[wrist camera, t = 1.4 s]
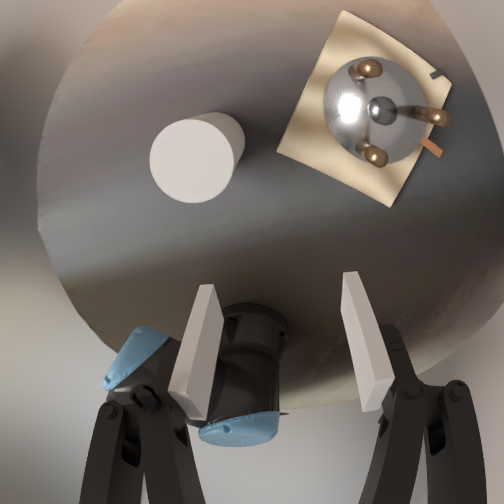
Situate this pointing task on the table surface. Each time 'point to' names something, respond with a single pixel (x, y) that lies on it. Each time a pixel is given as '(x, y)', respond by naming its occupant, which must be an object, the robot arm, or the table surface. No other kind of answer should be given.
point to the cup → (197, 156)
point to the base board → (313, 122)
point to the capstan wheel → (378, 111)
